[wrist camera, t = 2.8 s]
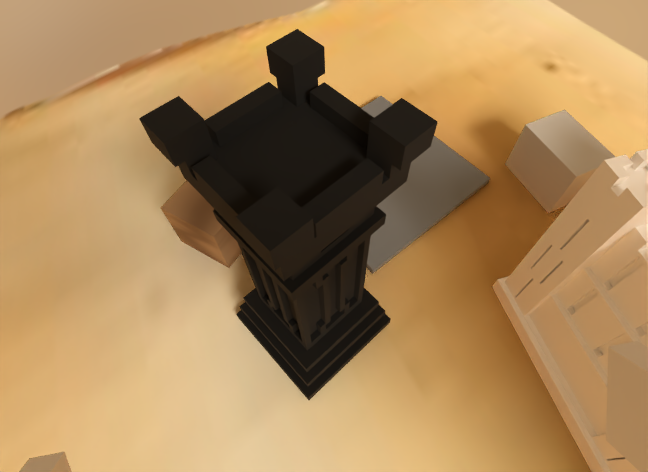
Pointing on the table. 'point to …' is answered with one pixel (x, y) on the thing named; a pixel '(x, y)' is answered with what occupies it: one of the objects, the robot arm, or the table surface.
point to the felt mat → (421, 196)
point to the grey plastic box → (555, 159)
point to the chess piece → (299, 202)
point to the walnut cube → (200, 225)
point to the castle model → (586, 298)
